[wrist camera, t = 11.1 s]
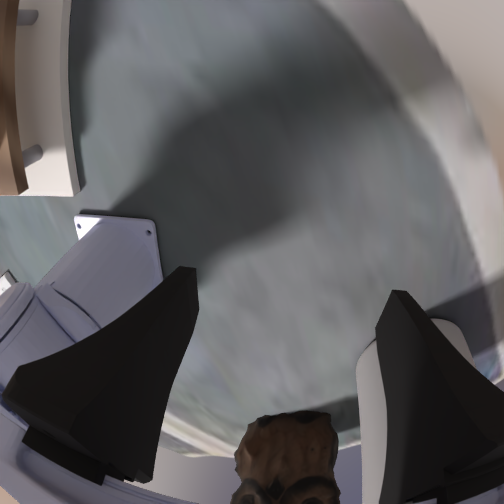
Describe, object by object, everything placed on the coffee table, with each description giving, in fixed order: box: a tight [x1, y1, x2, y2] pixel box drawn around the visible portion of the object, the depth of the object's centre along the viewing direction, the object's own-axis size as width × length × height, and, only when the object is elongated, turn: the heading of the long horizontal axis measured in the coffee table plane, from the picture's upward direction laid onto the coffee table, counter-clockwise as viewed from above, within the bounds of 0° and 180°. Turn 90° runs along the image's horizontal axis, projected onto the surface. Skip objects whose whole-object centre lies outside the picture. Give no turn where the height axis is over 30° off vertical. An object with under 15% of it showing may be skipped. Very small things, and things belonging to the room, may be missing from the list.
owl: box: [230, 411, 341, 504], centre depth 29 cm, size 13×13×20 cm
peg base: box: [7, 0, 80, 196], centre depth 14 cm, size 20×12×4 cm, turn 177°
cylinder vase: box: [356, 319, 476, 504], centre depth 16 cm, size 12×12×25 cm
